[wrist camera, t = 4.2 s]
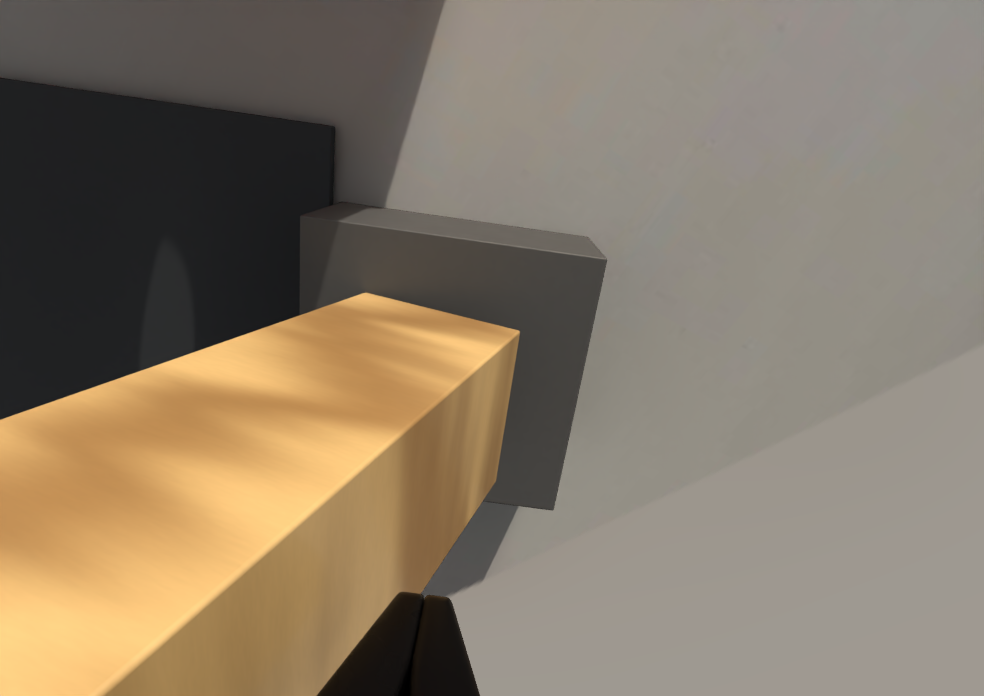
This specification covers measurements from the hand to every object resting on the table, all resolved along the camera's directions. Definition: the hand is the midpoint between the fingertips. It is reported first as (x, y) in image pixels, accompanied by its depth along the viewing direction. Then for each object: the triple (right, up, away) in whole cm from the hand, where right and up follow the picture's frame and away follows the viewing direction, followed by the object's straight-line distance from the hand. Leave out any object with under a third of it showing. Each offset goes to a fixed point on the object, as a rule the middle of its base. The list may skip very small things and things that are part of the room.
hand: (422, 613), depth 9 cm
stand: (0, +5, +12) cm, 13 cm away
